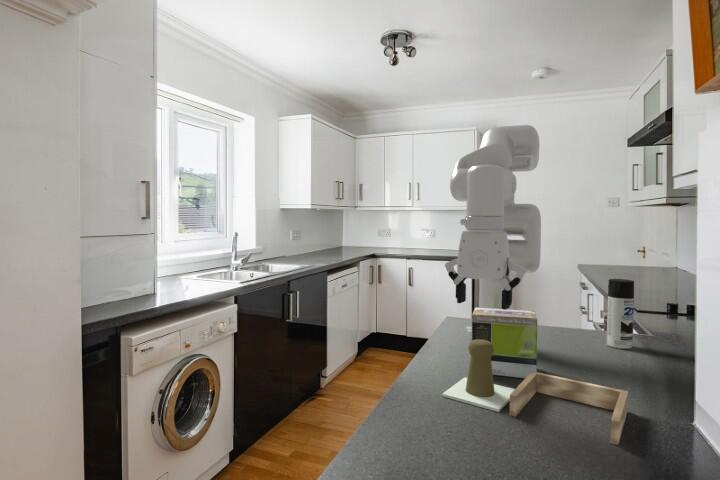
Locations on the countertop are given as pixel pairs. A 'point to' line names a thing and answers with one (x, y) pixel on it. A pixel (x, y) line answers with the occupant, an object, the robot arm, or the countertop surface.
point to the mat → (489, 403)
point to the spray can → (620, 313)
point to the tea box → (508, 339)
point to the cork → (480, 369)
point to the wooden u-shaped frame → (573, 397)
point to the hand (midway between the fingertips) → (482, 305)
